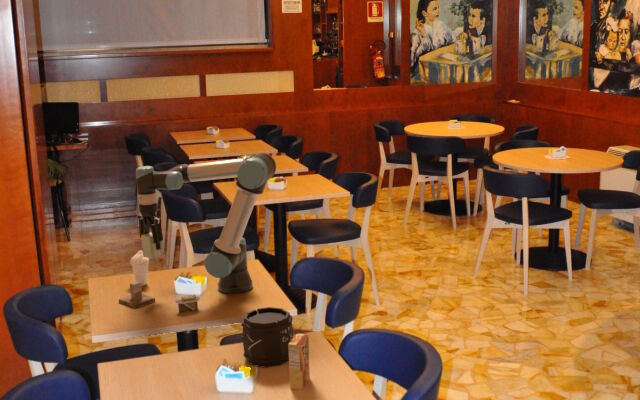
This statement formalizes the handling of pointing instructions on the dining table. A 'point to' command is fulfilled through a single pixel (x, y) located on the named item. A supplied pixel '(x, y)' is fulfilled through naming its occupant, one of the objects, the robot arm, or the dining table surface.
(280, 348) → the wooden barrel
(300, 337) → the candy box
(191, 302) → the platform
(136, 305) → the post base
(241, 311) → the dining table surface
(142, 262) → the soft serve ice cream cone
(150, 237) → the sage cap
